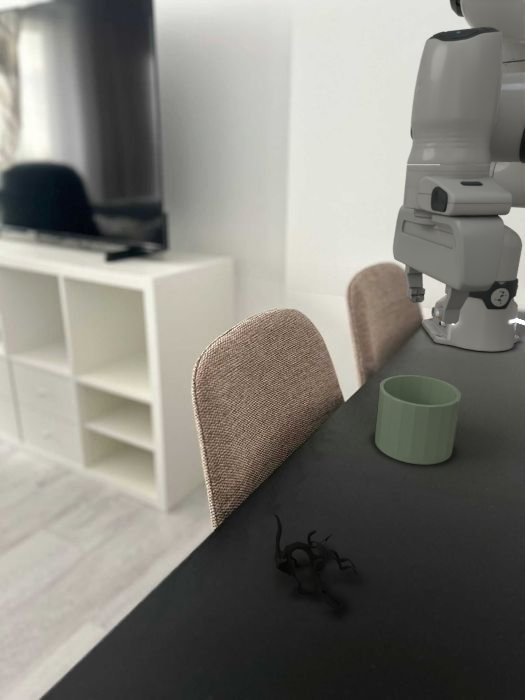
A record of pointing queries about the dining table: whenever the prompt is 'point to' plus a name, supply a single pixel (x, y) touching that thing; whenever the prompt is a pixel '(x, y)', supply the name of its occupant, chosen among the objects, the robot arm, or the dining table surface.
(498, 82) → the robot arm
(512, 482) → the dining table surface
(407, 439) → the cup
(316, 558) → the creature
